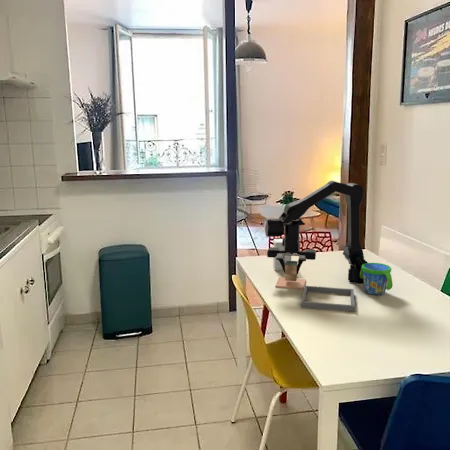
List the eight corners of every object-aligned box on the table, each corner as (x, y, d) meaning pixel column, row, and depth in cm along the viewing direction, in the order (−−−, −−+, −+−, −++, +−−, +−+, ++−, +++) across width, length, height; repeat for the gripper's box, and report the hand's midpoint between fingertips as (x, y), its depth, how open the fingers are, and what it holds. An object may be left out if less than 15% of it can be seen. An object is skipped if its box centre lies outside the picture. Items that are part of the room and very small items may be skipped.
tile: (305, 280, 199) (305, 279, 198) (303, 289, 188) (303, 287, 188) (278, 278, 201) (278, 277, 201) (275, 287, 191) (275, 285, 190)
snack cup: (399, 297, 179) (401, 270, 177) (374, 300, 176) (376, 273, 174) (374, 284, 193) (376, 259, 191) (351, 287, 190) (352, 262, 188)
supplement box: (291, 270, 212) (292, 242, 210) (274, 270, 212) (274, 242, 210) (289, 265, 220) (290, 238, 217) (273, 265, 220) (273, 238, 217)
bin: (353, 294, 183) (353, 289, 182) (354, 311, 165) (354, 306, 165) (304, 290, 187) (304, 285, 186) (300, 307, 169) (301, 302, 169)
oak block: (297, 277, 196) (297, 261, 194) (296, 281, 192) (296, 264, 190) (286, 277, 197) (286, 260, 195) (284, 280, 193) (285, 263, 191)
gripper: (317, 232, 196) (316, 269, 199) (271, 230, 200) (270, 267, 204) (315, 238, 186) (314, 278, 189) (267, 236, 190) (266, 275, 193)
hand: (291, 274), depth 194 cm, fingers closed on oak block, 4 cm apart
